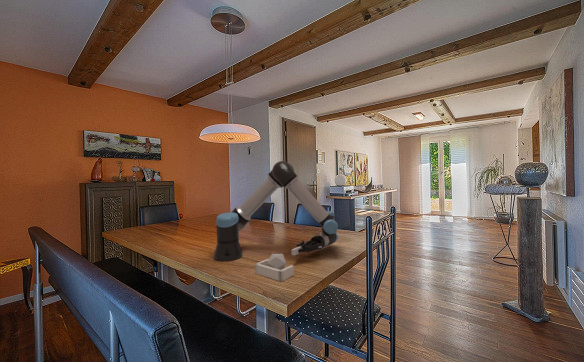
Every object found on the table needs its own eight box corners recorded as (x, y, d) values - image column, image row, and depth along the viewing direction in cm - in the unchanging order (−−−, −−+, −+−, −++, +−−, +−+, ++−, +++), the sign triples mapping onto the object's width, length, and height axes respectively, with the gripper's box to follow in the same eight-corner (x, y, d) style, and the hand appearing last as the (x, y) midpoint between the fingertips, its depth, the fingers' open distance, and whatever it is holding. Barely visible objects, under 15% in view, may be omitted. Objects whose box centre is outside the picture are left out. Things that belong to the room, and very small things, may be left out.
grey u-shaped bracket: (254, 272, 111) (254, 264, 111) (267, 267, 118) (267, 258, 118) (281, 281, 101) (281, 272, 101) (294, 274, 108) (293, 265, 108)
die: (278, 278, 106) (289, 258, 108) (261, 267, 108) (273, 248, 110) (280, 277, 114) (291, 259, 116) (265, 267, 116) (276, 249, 118)
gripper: (329, 250, 133) (303, 262, 115) (310, 246, 142) (282, 257, 123) (329, 236, 133) (303, 246, 115) (309, 233, 141) (282, 242, 123)
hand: (292, 252), depth 119 cm, fingers closed
